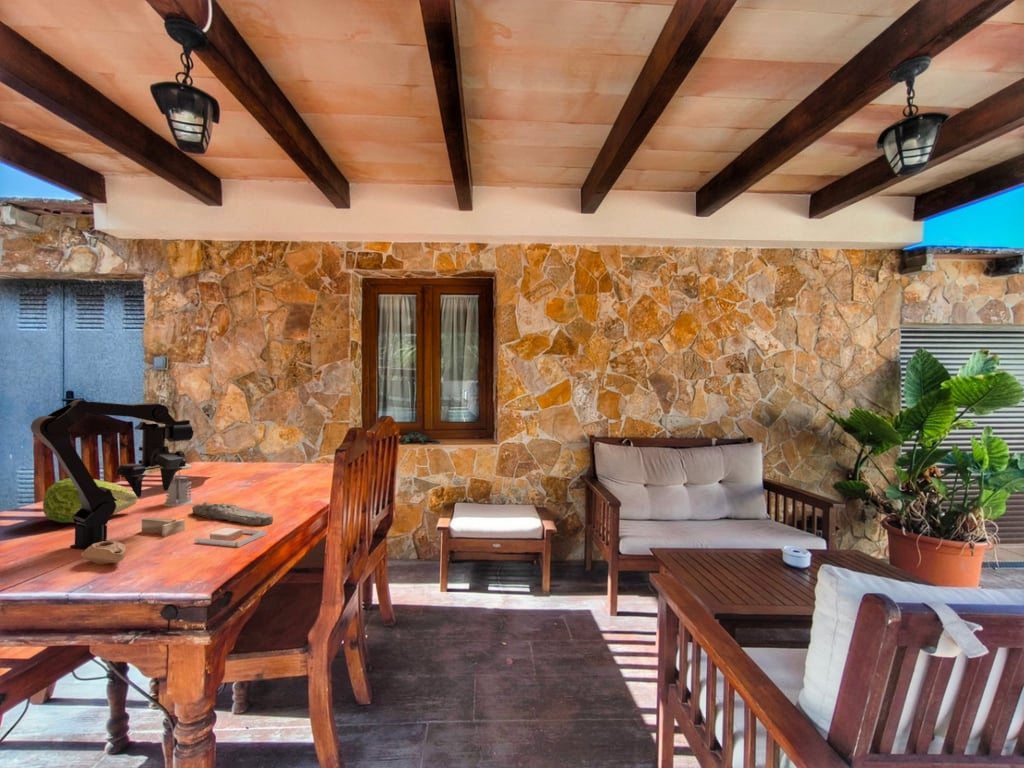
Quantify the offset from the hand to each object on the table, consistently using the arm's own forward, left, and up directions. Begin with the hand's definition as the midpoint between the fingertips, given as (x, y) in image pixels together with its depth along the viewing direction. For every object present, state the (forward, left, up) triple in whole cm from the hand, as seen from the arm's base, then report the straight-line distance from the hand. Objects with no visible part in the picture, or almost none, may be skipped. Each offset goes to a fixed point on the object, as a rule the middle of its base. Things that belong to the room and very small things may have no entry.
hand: (152, 493), depth 156 cm
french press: (+30, +20, -12) cm, 38 cm away
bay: (0, -28, -12) cm, 30 cm away
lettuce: (+6, +30, -12) cm, 33 cm away
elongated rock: (+19, -12, -12) cm, 26 cm away
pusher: (0, -3, -12) cm, 12 cm away
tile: (0, -26, -12) cm, 29 cm away
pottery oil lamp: (-25, -12, -12) cm, 30 cm away
